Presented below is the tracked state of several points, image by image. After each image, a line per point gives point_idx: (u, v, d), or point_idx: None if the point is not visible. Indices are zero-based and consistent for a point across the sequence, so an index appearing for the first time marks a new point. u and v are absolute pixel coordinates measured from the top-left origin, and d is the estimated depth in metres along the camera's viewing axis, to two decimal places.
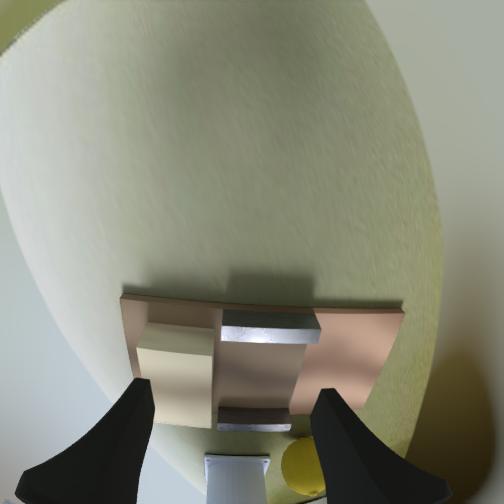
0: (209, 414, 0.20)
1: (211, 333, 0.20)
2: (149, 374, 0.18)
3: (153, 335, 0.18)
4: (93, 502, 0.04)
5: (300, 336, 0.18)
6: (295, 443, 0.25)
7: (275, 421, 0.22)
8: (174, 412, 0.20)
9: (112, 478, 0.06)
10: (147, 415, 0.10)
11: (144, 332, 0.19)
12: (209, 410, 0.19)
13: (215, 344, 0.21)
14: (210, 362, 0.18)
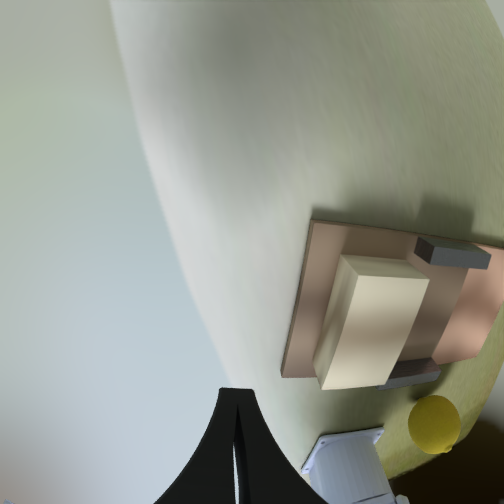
0: (394, 363, 0.17)
1: (408, 263, 0.17)
2: (357, 315, 0.15)
3: (361, 265, 0.16)
4: None
5: (479, 261, 0.16)
6: (423, 401, 0.22)
7: (428, 370, 0.20)
8: (358, 368, 0.17)
9: None
10: (234, 424, 0.10)
11: (349, 262, 0.16)
12: (396, 357, 0.17)
13: None
14: (425, 288, 0.15)
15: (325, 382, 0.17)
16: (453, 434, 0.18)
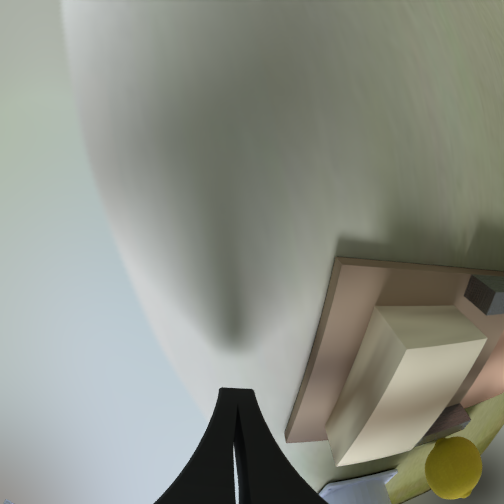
0: (426, 430, 0.11)
1: (458, 311, 0.11)
2: (394, 394, 0.09)
3: (406, 325, 0.10)
4: None
5: None
6: (444, 445, 0.17)
7: (457, 421, 0.14)
8: (384, 443, 0.11)
9: None
10: (234, 424, 0.10)
11: (389, 322, 0.10)
12: (430, 425, 0.11)
13: None
14: (480, 348, 0.09)
15: (341, 460, 0.11)
16: (474, 480, 0.12)
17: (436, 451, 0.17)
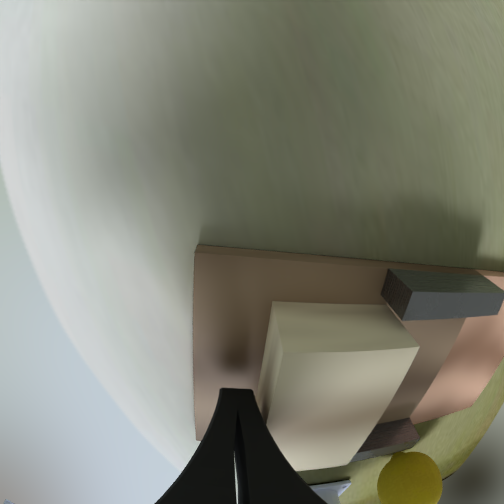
0: (358, 446, 0.11)
1: (389, 312, 0.11)
2: (289, 403, 0.09)
3: (301, 324, 0.10)
4: None
5: (488, 304, 0.09)
6: (398, 461, 0.16)
7: (401, 438, 0.13)
8: (303, 455, 0.11)
9: None
10: None
11: (280, 320, 0.10)
12: (362, 440, 0.11)
13: None
14: (411, 359, 0.09)
15: None
16: (430, 503, 0.12)
17: (388, 466, 0.16)
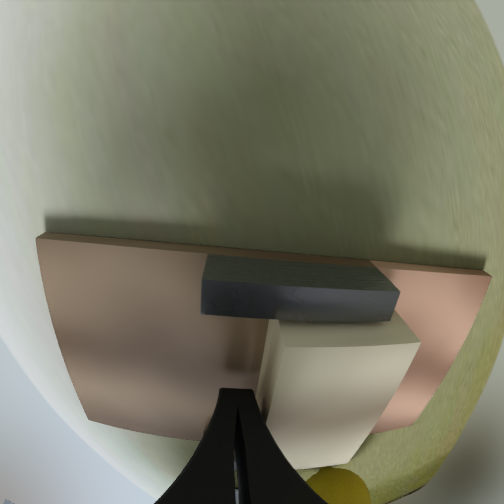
0: (359, 444, 0.11)
1: None
2: (290, 399, 0.09)
3: None
4: None
5: (362, 306, 0.09)
6: (318, 477, 0.16)
7: None
8: (303, 453, 0.11)
9: None
10: None
11: None
12: (363, 438, 0.11)
13: (194, 328, 0.11)
14: (413, 355, 0.09)
15: None
16: None
17: (308, 481, 0.16)
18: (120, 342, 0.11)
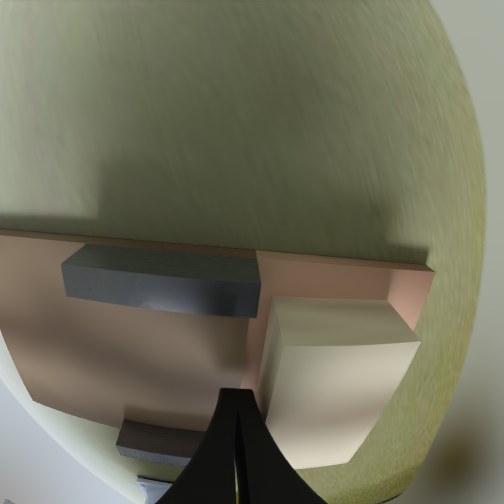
0: (359, 443, 0.11)
1: (390, 307, 0.11)
2: (289, 398, 0.09)
3: (301, 319, 0.09)
4: None
5: (213, 298, 0.09)
6: None
7: None
8: (303, 452, 0.11)
9: None
10: None
11: (280, 314, 0.10)
12: (363, 437, 0.11)
13: (88, 313, 0.11)
14: (412, 354, 0.09)
15: None
16: None
17: None
18: (38, 324, 0.11)
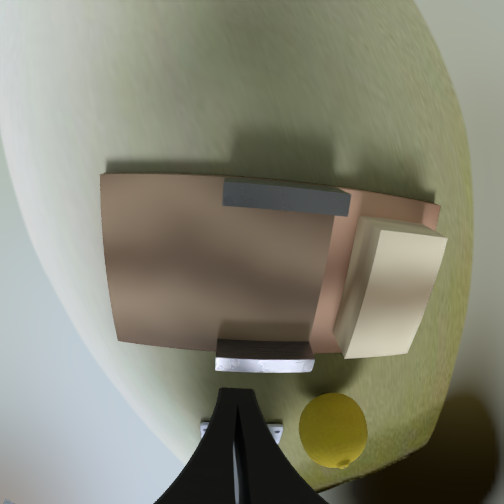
0: (416, 329, 0.17)
1: (425, 226, 0.16)
2: (380, 273, 0.15)
3: (381, 223, 0.15)
4: None
5: (325, 202, 0.14)
6: (316, 398, 0.21)
7: (293, 356, 0.18)
8: (381, 334, 0.16)
9: None
10: (234, 424, 0.10)
11: (369, 221, 0.15)
12: (418, 322, 0.16)
13: (214, 232, 0.17)
14: (444, 247, 0.14)
15: (348, 350, 0.17)
16: (347, 447, 0.16)
17: (308, 404, 0.21)
18: (158, 250, 0.17)
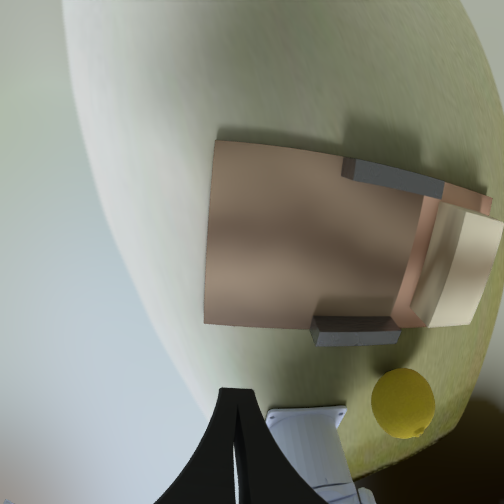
0: (478, 301, 0.17)
1: None
2: (462, 248, 0.15)
3: (460, 208, 0.16)
4: None
5: (428, 186, 0.15)
6: (388, 374, 0.21)
7: (384, 328, 0.19)
8: (456, 304, 0.17)
9: None
10: (234, 424, 0.10)
11: (451, 205, 0.16)
12: (480, 295, 0.17)
13: (329, 208, 0.17)
14: (502, 230, 0.15)
15: (432, 319, 0.17)
16: (424, 414, 0.17)
17: (380, 380, 0.22)
18: (271, 223, 0.17)
